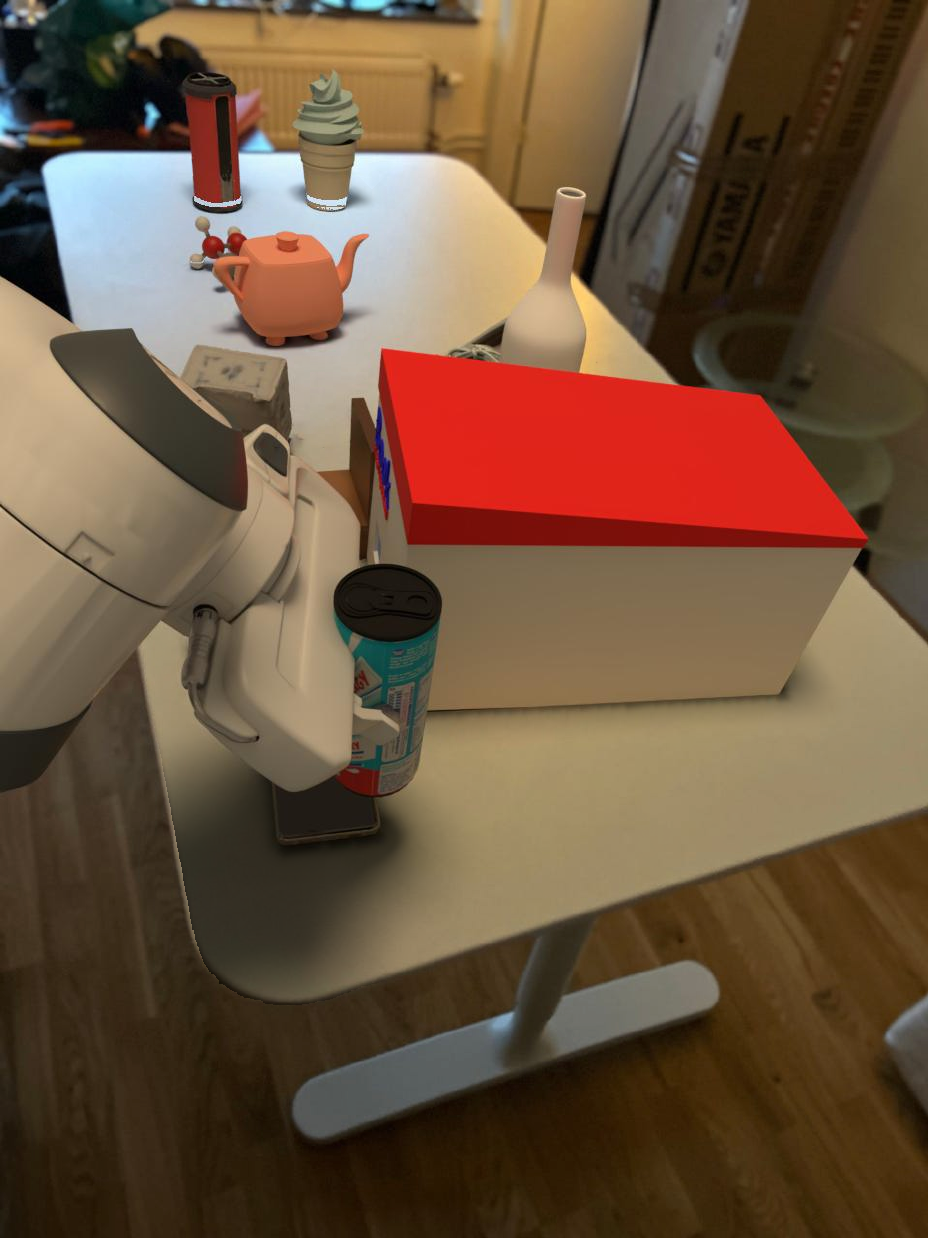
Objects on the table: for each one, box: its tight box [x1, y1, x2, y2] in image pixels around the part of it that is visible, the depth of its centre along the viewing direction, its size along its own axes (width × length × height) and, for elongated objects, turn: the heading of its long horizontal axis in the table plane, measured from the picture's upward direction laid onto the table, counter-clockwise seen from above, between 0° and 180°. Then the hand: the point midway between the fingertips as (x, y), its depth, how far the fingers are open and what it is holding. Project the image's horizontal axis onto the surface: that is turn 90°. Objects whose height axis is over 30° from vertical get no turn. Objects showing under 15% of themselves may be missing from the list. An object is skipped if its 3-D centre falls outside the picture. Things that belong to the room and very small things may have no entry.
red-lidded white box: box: [366, 347, 870, 711], centre depth 76 cm, size 21×35×21 cm, turn 99°
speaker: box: [181, 71, 243, 214], centre depth 138 cm, size 8×8×18 cm
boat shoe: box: [444, 317, 507, 363], centre depth 111 cm, size 10×24×8 cm, turn 155°
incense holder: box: [179, 343, 293, 442], centre depth 93 cm, size 10×8×10 cm
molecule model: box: [188, 215, 248, 280], centre depth 127 cm, size 15×7×14 cm
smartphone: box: [271, 775, 381, 846], centre depth 69 cm, size 7×1×16 cm
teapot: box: [212, 230, 370, 347], centre depth 114 cm, size 20×12×12 cm, turn 118°
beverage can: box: [333, 564, 442, 799], centre depth 54 cm, size 6×6×15 cm
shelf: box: [316, 397, 376, 559], centre depth 84 cm, size 14×9×12 cm, turn 106°
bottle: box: [499, 186, 587, 373], centre depth 89 cm, size 8×8×30 cm
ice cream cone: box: [291, 68, 366, 212], centre depth 143 cm, size 10×11×20 cm
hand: (391, 682), depth 54 cm, fingers closed on beverage can, 6 cm apart
